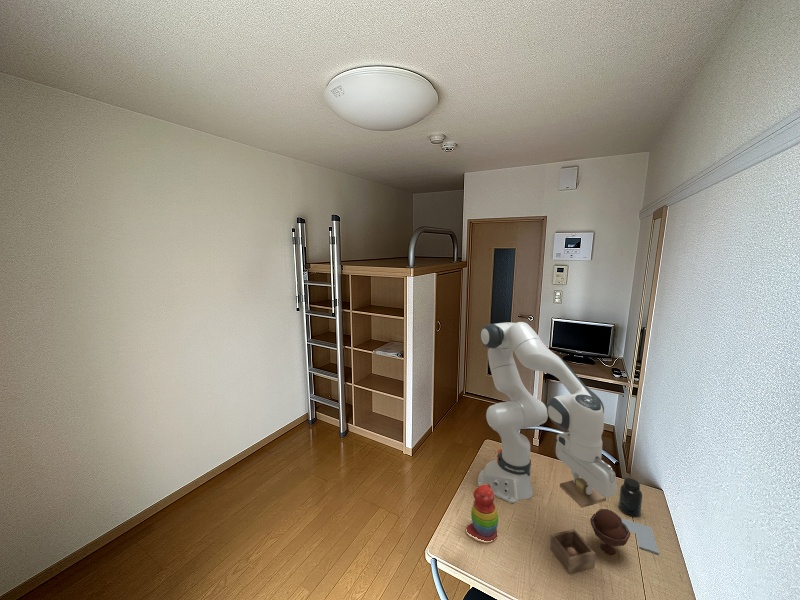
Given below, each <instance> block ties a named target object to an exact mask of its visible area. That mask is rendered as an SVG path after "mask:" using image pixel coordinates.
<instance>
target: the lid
mask: <svg viewBox="0 0 800 600" xmlns="http://www.w3.org/2000/svg"><path fill="white" fill-rule="evenodd" d="M585 486H588V485H587V482H586V481H585V480H584V479H582V478H581V477H580V478H579V479H576V484H575V483H574V479H573V480H568V481H564V482H561V483H559V487H560V489H561V490H563V492H565V493H566V495H568V496H569V497H570V498H571V499H572V500H573V501H574V502H575V503H576V504H577V505H578V506H580V508H586V507H590V506H593V505H598V504H600V503H604V502H606V501H607V497H604V496H603V495H602V494H600V493H599V492H598V491H597V490H596V489H594V488H593V489H592V494H590V495H587V494H586V493H585V492H584V487H585Z"/></svg>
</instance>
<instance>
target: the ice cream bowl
mask: <svg viewBox="0 0 800 600" xmlns="http://www.w3.org/2000/svg"><path fill="white" fill-rule="evenodd" d="M621 518H622V517H620V516H619V515H618V514H617V513H616V512H614V511H613V510H611V509H609V508H608V509H607V508H600V509H598V510H597V511H596V512H595V513H593V515H592V516H591V517H590V525H591V528H592V531H593V532H594V535H595V536H596V537H597V538H598V539H599V540H600V541H602V543H600V545H599V547H600V550H601V551H602V552H603V553H604V554H605V555H608V556H610V557H611V556H616V554H617V551H616V549H615V548H614V547H623V546H625V545H626V544H627V543H628V541H629V538H630V537H631V532H630V531H629V530H628V528H627V526H626V525H625V524H624V523H623V522H622V520H621Z"/></svg>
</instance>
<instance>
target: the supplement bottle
mask: <svg viewBox="0 0 800 600" xmlns="http://www.w3.org/2000/svg"><path fill="white" fill-rule="evenodd" d="M623 481H624V482H623V484H621V485H620V488H619V502H618V507H619V509H620V510H621V512H623V513H624V514H625V515H626V516H629V517H633V518H637V517H640V516H641V513H642V502H643V492H642V490H640V489H641V487H640V486H641V484H640V483H639V481H638V480H636V479H633V478H630V477H627V478H624V480H623Z"/></svg>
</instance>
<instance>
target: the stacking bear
mask: <svg viewBox="0 0 800 600" xmlns="http://www.w3.org/2000/svg"><path fill="white" fill-rule="evenodd" d="M472 493H473V494H472V495H473V497H474V498H473V499H474V500H473V503H472V508H471V511H470V512H471V514H470V515H471V522H472V523H471V524H468V525H467V526H466V527H465V530H466V529H467V532H468V533H469V534H471V535H472V536H474V537H477V538H478V539H481V540H484V541H491V540H494V539H495V538H496V537H497V538H498V535H497V533H498V530H497V529H498V525H499V513H498V508H497V505H496V504H495V502H494V501H495V496H494V492H493V490H492V489H491V486H490V484H487V485H480V486H479V487H476V488H474V489H473V492H472ZM497 538H496V539H497Z"/></svg>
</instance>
